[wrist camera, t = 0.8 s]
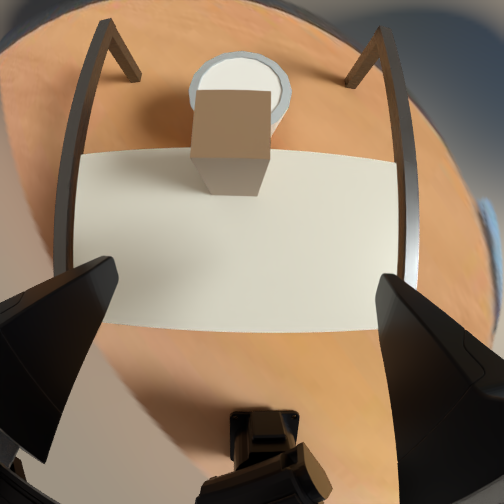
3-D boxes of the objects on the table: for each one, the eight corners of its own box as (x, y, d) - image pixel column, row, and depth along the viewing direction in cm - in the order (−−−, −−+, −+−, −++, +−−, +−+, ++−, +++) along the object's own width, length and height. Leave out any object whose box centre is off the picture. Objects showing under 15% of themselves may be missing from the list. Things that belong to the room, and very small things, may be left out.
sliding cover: (387, 325, 17) (463, 367, 9) (80, 316, 16) (2, 353, 8) (391, 165, 16) (469, 126, 9) (85, 157, 16) (10, 115, 8)
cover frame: (359, 301, 25) (412, 327, 16) (112, 294, 24) (56, 317, 15) (353, 80, 24) (391, 28, 15) (133, 73, 23) (99, 20, 14)
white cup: (185, 127, 24) (167, 90, 17) (241, 81, 24) (242, 36, 17) (238, 179, 24) (238, 154, 17) (295, 129, 24) (313, 92, 17)
